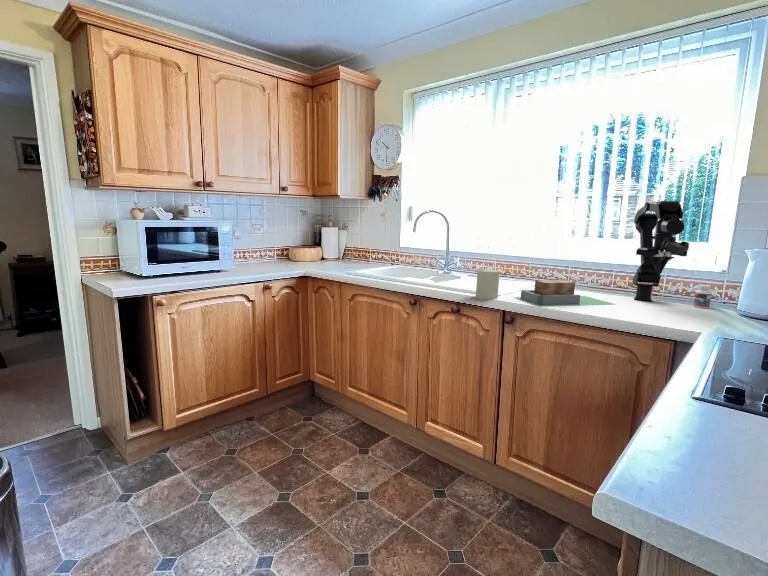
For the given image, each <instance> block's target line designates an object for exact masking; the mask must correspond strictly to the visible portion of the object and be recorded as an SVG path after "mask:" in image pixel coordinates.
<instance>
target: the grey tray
mask: <svg viewBox="0 0 768 576" xmlns="http://www.w3.org/2000/svg"><path fill="white" fill-rule="evenodd" d="M534 290H535V289H522V290H521V291H520V297H521V299H523V300H526V301H529V302H532V303H535V304H538V305H561V304H580V296H581V294H574V295H538V294H535V293H534Z"/></svg>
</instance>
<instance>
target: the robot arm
mask: <svg viewBox="0 0 768 576" xmlns="http://www.w3.org/2000/svg"><path fill="white" fill-rule="evenodd" d="M647 212H648V213H647ZM649 212H653V213H649ZM683 216H684V211H683V208H682V205H681V204H680V202H679V200H658V201H647V202H645V204H644V205H643V206H642V207H641V208H639V209H638V210H637V211H636V213H635V215H634V217H633V218H634V219H633V223H634V224H635V230H636V231H637V232H638V233H639V236H640V237H639V241H640V243H639V244H640V247H638V248H636V253H635V255H636V256H640V265H639V266H638V268H637V269H636V272H635V274H634V276H633V278H632V285H633V286H636V291H635V296H634V298H633V299H634V300H637V301H643V302H644V301H645V302H653V298H652V293H653V287H656V288H658V287H659V284H660V281H661V277H662V276H661V274H662V272H663V270H664V269H665V267H666V265H667V264H668V262H669V261H670V260H672V259H675V256H679V257H687V256H688V251H689V248H690V243H689V242H688V241H679V242H677V240H676V239H677V238H676V235H679V234H681V233H682V232H683V231H684V229H685V224H684V222H683V221H682V219H683ZM655 228H656V229H655ZM654 229H655V234H654V233H653V230H654ZM653 234H654V235H653Z"/></svg>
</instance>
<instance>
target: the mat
mask: <svg viewBox="0 0 768 576" xmlns="http://www.w3.org/2000/svg"><path fill="white" fill-rule="evenodd" d="M512 298H513V299H516V300H519V301H521V302H525V303H526V304H530V305H532V306H536V307H538V308H540V307H541V308H542V307H573V306H575V307H576V306H579V307H580V306H607V305H613V306H614V305H617V304H616V303H612V302H609V301H604V300H601V299H598V298H595V297H590V296H586V295H580V304H561V305H538V304H535V303H532V302H529V301H526V300H523V299H521V296H516V297H515V296H514V297H512Z"/></svg>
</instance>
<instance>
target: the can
mask: <svg viewBox="0 0 768 576" xmlns="http://www.w3.org/2000/svg"><path fill="white" fill-rule="evenodd" d="M500 273H501V271H500V270H498V269H489V268H487V269H486V268H479V269H477V271H476V289H475V299H478V300H483V301H484V300H485V301H489V300H497V299H498V298H499V286H500V285H499V282H500V275H501V274H500Z"/></svg>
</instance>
